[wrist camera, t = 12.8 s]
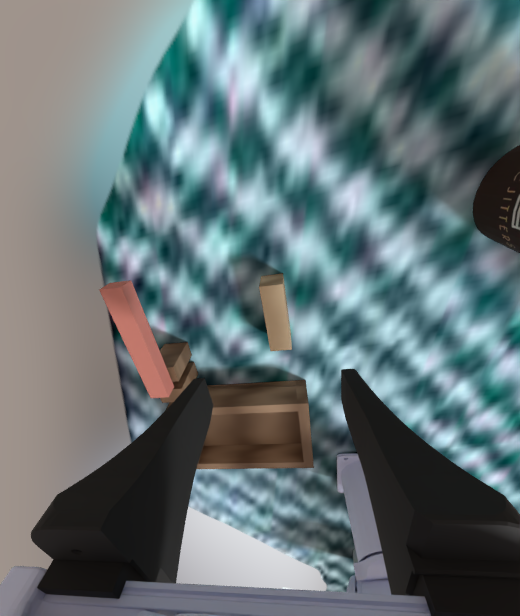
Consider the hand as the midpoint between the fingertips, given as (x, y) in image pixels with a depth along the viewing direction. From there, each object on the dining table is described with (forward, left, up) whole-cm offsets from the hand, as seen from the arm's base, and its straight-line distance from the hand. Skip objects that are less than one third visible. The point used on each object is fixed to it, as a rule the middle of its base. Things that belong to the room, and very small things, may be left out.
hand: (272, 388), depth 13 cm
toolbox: (+5, +11, -10) cm, 16 cm away
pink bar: (+10, 0, -6) cm, 12 cm away
